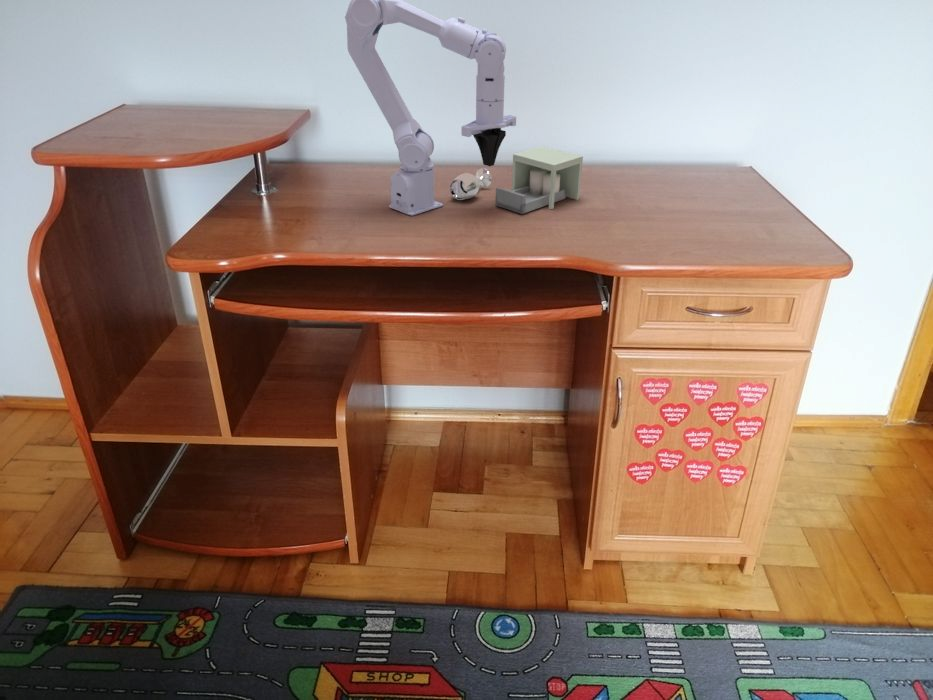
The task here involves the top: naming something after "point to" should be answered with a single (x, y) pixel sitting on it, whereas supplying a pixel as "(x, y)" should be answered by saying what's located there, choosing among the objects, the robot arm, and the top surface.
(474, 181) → the wineglass
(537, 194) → the tray
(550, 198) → the block
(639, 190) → the top surface
